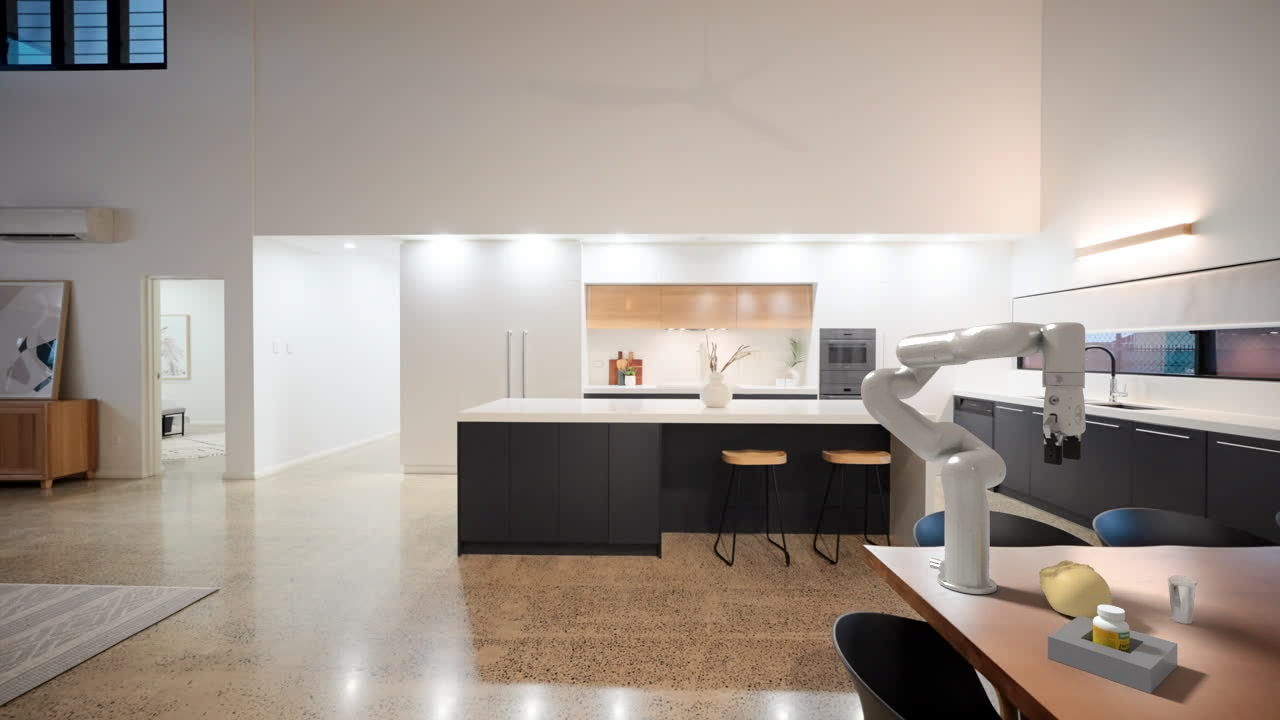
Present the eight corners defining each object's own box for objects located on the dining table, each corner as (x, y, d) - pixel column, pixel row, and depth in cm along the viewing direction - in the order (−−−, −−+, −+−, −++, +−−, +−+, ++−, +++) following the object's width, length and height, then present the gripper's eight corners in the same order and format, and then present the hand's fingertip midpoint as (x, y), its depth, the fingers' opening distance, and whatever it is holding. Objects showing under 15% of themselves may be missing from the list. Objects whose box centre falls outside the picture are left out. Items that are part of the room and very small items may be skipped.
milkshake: (1194, 628, 127) (1195, 579, 127) (1163, 618, 132) (1163, 571, 132) (1205, 624, 130) (1206, 575, 129) (1173, 614, 134) (1174, 567, 134)
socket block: (1047, 658, 116) (1048, 636, 115) (1079, 635, 125) (1079, 615, 124) (1150, 693, 104) (1150, 669, 103) (1177, 666, 113) (1177, 643, 112)
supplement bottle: (1099, 651, 118) (1100, 600, 118) (1134, 663, 113) (1135, 610, 113) (1087, 659, 115) (1087, 607, 115) (1122, 672, 110) (1122, 617, 110)
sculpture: (1075, 600, 142) (1075, 552, 142) (1125, 623, 130) (1125, 571, 130) (1030, 604, 140) (1030, 555, 140) (1076, 627, 128) (1076, 574, 128)
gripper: (1067, 382, 126) (1066, 468, 127) (1099, 380, 137) (1098, 459, 137) (1026, 381, 132) (1025, 463, 133) (1059, 379, 143) (1059, 455, 143)
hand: (1062, 461), depth 135 cm, fingers open, 9 cm apart
